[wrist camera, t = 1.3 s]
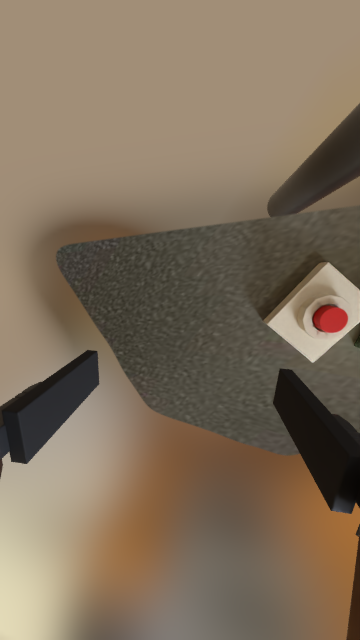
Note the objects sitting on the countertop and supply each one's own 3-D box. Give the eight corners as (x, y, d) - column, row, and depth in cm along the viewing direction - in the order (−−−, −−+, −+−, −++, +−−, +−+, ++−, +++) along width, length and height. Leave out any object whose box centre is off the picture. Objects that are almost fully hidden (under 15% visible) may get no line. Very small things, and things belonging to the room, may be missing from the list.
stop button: (327, 300, 28) (335, 302, 26) (345, 316, 28) (354, 319, 27) (307, 319, 29) (313, 322, 27) (325, 334, 29) (332, 338, 28)
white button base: (319, 262, 30) (336, 261, 26) (365, 303, 31) (389, 308, 27) (262, 320, 33) (270, 327, 29) (306, 357, 34) (319, 368, 30)
